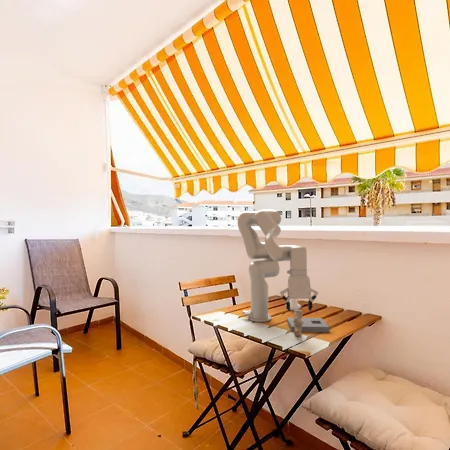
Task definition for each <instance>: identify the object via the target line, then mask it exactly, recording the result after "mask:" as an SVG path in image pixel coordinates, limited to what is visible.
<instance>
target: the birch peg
mask: <svg viewBox="0 0 450 450" xmlns="http://www.w3.org/2000/svg"><path fill="white" fill-rule="evenodd" d="M293 312H294V313H293V318H294V326H295V332H294V336H295V337H294V338H302V336H303V335H302V333H303V332H302V318H303V310H302V309H298V310H294V311H293Z"/></svg>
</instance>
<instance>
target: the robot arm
mask: <svg viewBox="0 0 450 450" xmlns="http://www.w3.org/2000/svg"><path fill="white" fill-rule="evenodd" d="M281 221H282V215H281V213H280V212H279V211H278V210H275V209H261V210H257V211H256V210H253V211H252V210H246V211H243V212H241V213H239V215H238V217H237V228H238V230H239V232H240V234H241V237H242V239H243V243H244V246H245V252H246V254H247V257H248V258H249V259H250V260H255V261H252V262H251V263H250V264H249V266H248V275H249V280H250V309H249V310H242V315H244V316H247V319H248V320H250V321H251V322H255V323H265V322H269V321H271V320H272V316H271V315H270V314H269V286H268V282H267V281H266V279H267V278H275V277H277V276H279V274H280V269H281V268H280V262H284V261H285V262H288V261H289V265H290V266H289V267H290V268H289V270H287V271H286V273H287V274H289V276H288V279H287V287H286V288H285V289H283V290H281V291H280V292H279V294H280V296H281V297H282V299H283V300H284V301H285V309H287V311H288V312H290V311H291V310H290V299H291V298H297V299H308V300H307V304H308V306H307V308H308V311H310V312H311V311H312V309H313V302H314V301H315V299H316V298H317V297H318V294H319V292H318V291H317V290H315V289H313V288H312V287H311V280H310V276H309V275H308V260H307V257H308V256H307V252H308V251H307V247H305V246H303V245H294V244H283V245H281V244H280V245H278V244H277V243H276V242H275V239H276V238H278V236H280V234H281V227H280V226H279V224H280V223H281ZM252 227H259V228H260V230H261V231H262V233H263V234H264V236H265V237H264V241H260V238H259V235H258V233H257V232H256V230H255V229H254V228H252ZM286 293H287V297H286V295H285V294H286ZM312 293H313V294H312Z"/></svg>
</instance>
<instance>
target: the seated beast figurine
mask: <svg viewBox="0 0 450 450" xmlns="http://www.w3.org/2000/svg"><path fill="white" fill-rule="evenodd" d="M289 302H290V311H293V312H294V310H301V308H302V305H301V304H299V301H298V298H291V299H290V301H289Z"/></svg>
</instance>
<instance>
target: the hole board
mask: <svg viewBox="0 0 450 450" xmlns="http://www.w3.org/2000/svg"><path fill="white" fill-rule="evenodd" d="M286 323H287V325H288V327H289V329H290V331H291V332H292V333H295V326H294V317H287V318H286ZM302 333H330V326H329V325H328V323H327V322H326V321H325V320H324V319H323V318H322V317H302Z"/></svg>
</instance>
